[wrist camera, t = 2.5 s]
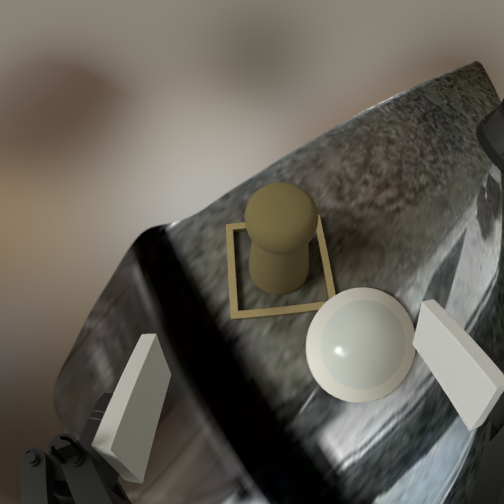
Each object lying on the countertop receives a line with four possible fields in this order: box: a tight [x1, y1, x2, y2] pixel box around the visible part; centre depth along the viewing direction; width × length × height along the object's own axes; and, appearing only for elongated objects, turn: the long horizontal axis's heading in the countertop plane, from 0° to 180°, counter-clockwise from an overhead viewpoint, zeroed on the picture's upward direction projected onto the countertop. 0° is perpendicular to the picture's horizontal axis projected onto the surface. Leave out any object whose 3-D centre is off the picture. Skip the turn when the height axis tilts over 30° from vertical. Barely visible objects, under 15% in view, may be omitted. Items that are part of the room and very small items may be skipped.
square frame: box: [226, 215, 335, 320], centre depth 28 cm, size 10×10×1 cm
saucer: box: [305, 288, 415, 403], centre depth 24 cm, size 11×11×1 cm
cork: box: [244, 182, 319, 295], centre depth 23 cm, size 6×6×11 cm
